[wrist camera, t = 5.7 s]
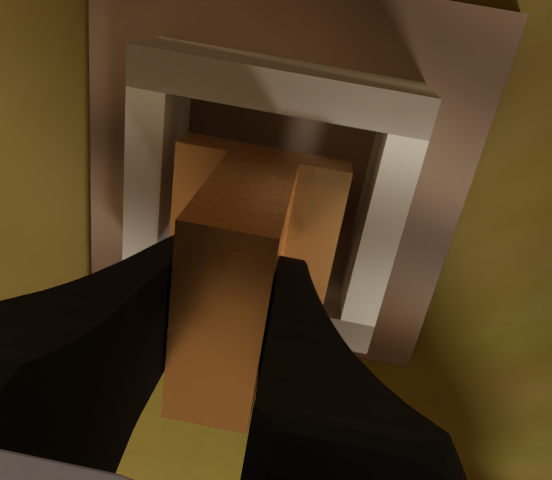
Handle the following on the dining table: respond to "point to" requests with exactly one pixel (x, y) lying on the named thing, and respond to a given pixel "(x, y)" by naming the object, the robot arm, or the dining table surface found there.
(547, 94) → the dining table surface
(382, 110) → the well block
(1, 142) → the dining table surface
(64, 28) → the dining table surface
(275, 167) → the wooden stepped block
